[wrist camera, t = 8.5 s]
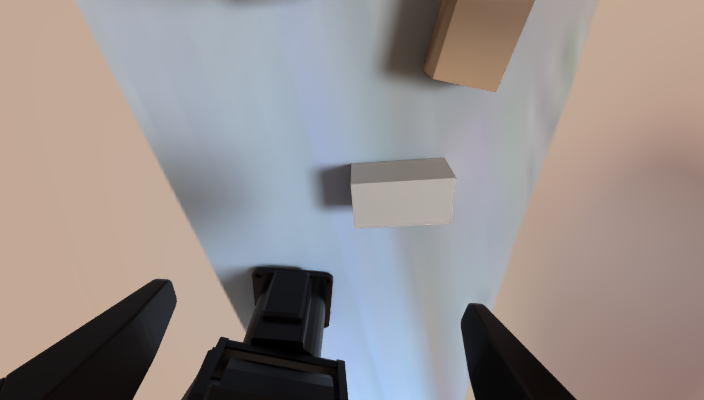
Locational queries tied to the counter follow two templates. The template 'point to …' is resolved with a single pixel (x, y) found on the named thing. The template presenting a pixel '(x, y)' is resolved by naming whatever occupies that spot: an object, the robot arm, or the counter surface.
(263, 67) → the counter surface
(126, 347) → the robot arm
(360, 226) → the grey brick
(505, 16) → the walnut brick
